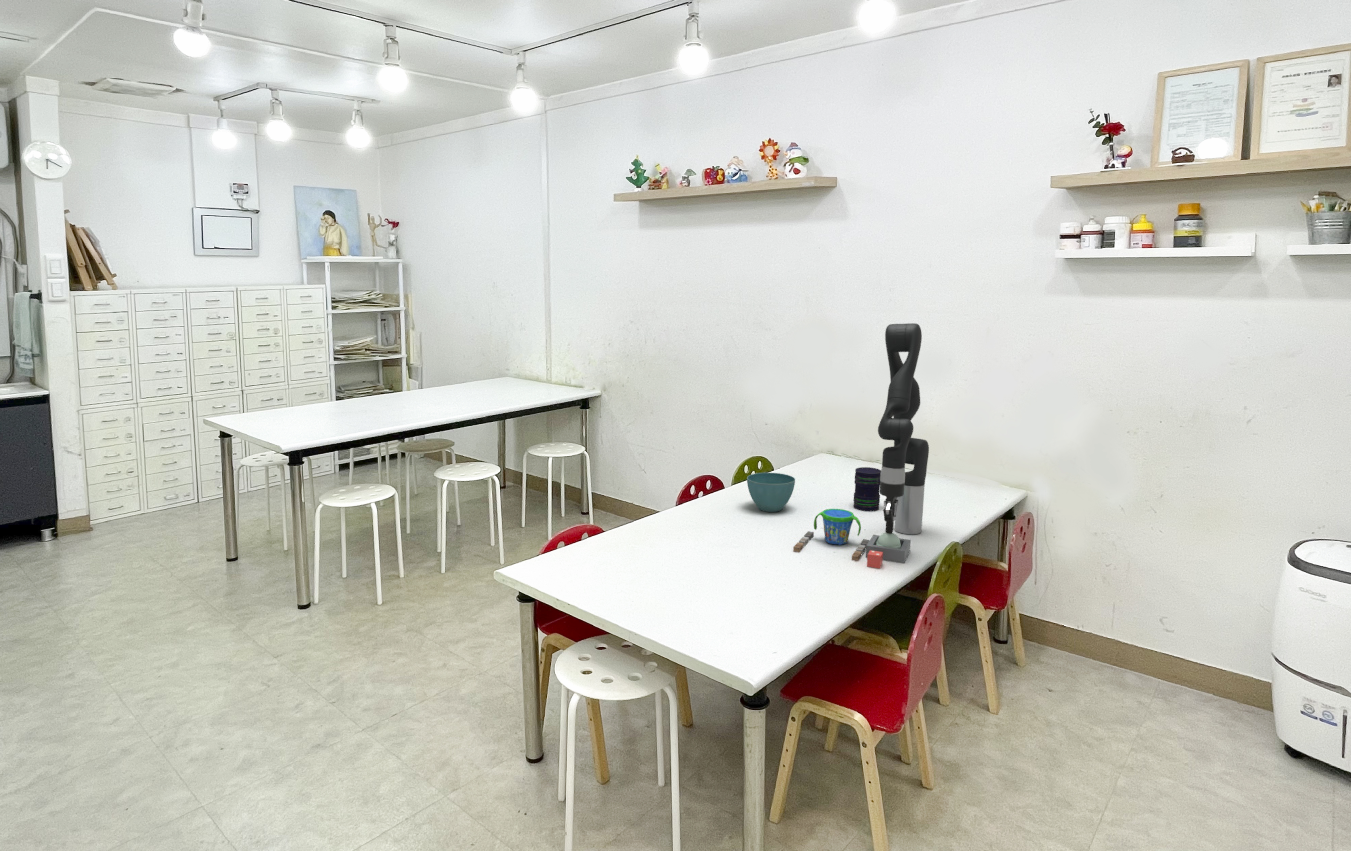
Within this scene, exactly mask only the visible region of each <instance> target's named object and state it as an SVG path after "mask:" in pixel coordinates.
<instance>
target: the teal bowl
mask: <svg viewBox="0 0 1351 851" xmlns="http://www.w3.org/2000/svg"><path fill="white" fill-rule="evenodd" d="M746 484H747V488H748V492H749V495H750V498H751V500H752V501H753V503H754V504H755V506H756V508H757V509H758V510H760V511H761V512H766V513H775V512H780V511H781V510H783V509H784V507H785V506H786V505H788V504H787V503H788V502H789V501H790V499H791V497H792V495H793V493H794V489H795V485H796V478H795V477H794V476H793V475H788V474H785V473H780V472H779V473H778V472H756V473H752V474H750V475H748V476H747V477H746Z"/></svg>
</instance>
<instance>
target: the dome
mask: <svg viewBox="0 0 1351 851" xmlns="http://www.w3.org/2000/svg"><path fill="white" fill-rule="evenodd" d="M899 538H900V537H899V536H898V535H897V534H895V533H894V532H892V533H886V532H883V533H881V534H880V536H879V538H878V541H877V544H876V545H878V546H885V547H892V548H899V549H900V548H901V543H900V540H899Z"/></svg>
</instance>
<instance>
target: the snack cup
mask: <svg viewBox="0 0 1351 851" xmlns="http://www.w3.org/2000/svg"><path fill="white" fill-rule="evenodd" d="M820 516H821V517H822V522H823V532H824V540H825V541H826V542H827V543H828V544H830V545H831V544H832V545H838V546H841V545H845V544H847V543H848V542H849V537H850V533H851V527H852V525H853V522H854V520H855V522H856V523H857V525H858V531H857V536H858V537H859V536H860V533H861V530H862V526H861V521H860V519H859V518H858V517H857V516H855V515H854V512H852V511H850V510H846V509H843V508H828V509H827V508H826V509H824V510H823V511H821V512H819V513H818V514H816V515H815V518H814V520H813V529H814V530H817V529H818V528H817V527H818V526H817V525H818V523H817V519H818V517H820Z"/></svg>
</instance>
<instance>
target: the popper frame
mask: <svg viewBox="0 0 1351 851" xmlns="http://www.w3.org/2000/svg"><path fill="white" fill-rule="evenodd" d="M880 535H881V534H880ZM880 535H879V534H873V535H872V537H871V538H870V539H869V542H868V544H867V545H866V549H865V558H866V559H867V556H868V553H869V551H870V550H872V551H879V552H883V561H887V562H893V563H894V562H895V563H901V564H905V562H906V560H907V559H908V556H909V554H910V552H911V542H912V540H911V539H907V538H902V537H901V538H900V537H898V538H899V540H900V543H901V548H900V549H899V548H892V547H885V546H878V545H876V544H877V541H878V538H879V536H880Z"/></svg>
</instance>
